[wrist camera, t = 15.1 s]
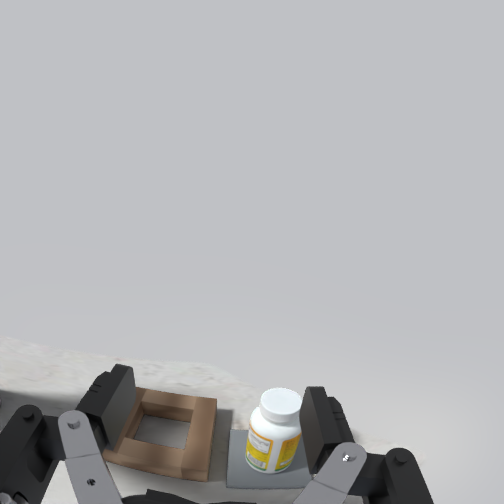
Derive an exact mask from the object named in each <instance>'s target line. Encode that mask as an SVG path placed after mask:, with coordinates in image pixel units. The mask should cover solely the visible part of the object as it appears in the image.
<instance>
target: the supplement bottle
mask: <svg viewBox="0 0 504 504" xmlns="http://www.w3.org/2000/svg"><path fill="white" fill-rule="evenodd" d="M302 401H303V400H302V398H301V397H300V395H299V394H298V393H296V392H294V391H293V390H290V389H286V388H273V389H270V390H267V391H266V392H264V393H263V394H262V396H261V400H260V404H259V406H258V407H257V408H256V409H255V410H254V411H253V413H252V415H251V418H250V425H249V432H248V439H247V446H246V453H245V457H246V461H247V462H248V464H249V465H250V466H251V467H252V468H253V469H255V470H256V471H259V472H262V473H267V474H273V473H278V472H281V471H283V470H285V469H286V468H287V467H289V465H290V464H291V462H292V460H293V457H294V454H295V451H296V448H297V445H298V442H299V439H300V436H301V433H302V432H301V427H300V422H299V412H300V408H301V404H302Z"/></svg>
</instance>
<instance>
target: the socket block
mask: <svg viewBox="0 0 504 504" xmlns="http://www.w3.org/2000/svg"><path fill="white" fill-rule="evenodd" d="M216 413H217V399H214V398H204V397H196V396H188V395H181V394H174V393H167V392H161V391H156V390H150V389H145V388H140V387H136V400H135V403H134V405H133V407H132V410H131V412H130V414H129V416H128V418H127V420H126V423H125V425H124V427H123V429H122V432H121V434H120V436H119V438H118V441H117V443H116V445H115V447H114V450H113V451H111V450H108V449H104V452H103V454H102V455H103V457H104V460H105V461H109V462H112V463H115V464H119V465H122V466H126V467H129V468H133V469H137V470H141V471H145V472H150V473H154V474H159V475H164V476H169V477H175V478H181V479H187V480H194V481H202V482H207V480H208V472H209V465H210V457H211V449H212V442H213V435H214V427H215V420H216ZM144 414H146V415H151V416H156V417H161V418H167V419H173V420H179V421H186V422H191V423H190V428H189V432H188V436H187V441H186V445H185V449H179V448H173V447H167V446H162V445H157V444H152V443H147V442H142V441H138V440H134V439H133V438H134V436H135V434H136V431H137V429H138V427H139V424H140V422H141V420H142V417H143V415H144Z"/></svg>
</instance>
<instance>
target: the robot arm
mask: <svg viewBox="0 0 504 504" xmlns="http://www.w3.org/2000/svg"><path fill="white" fill-rule="evenodd" d="M135 400H136V387H135V380H134V373H133V368H132V367H130V366H125V365H121V364H116V365H115V366H114V367H113V369H112V371H111V372H106V371H105V372H104V373H102V374H101V375H99V376H98V377H97V378H96V379H95V381H94V382H93V385H91V387H90V388H89V391H87V393H86V394H85V395H84V397H83V398H82V400H81V401H80V403H79V404H78V406H77V407H76V409H75V410H70V411H66V412H64V413H63V414H61V415H60V417H53V416H45V415H42V412H41V410H40V409H39V408H38V407H36V406H34V405H24V406H21V407H20V408H19V409H18V410H17V411H16V412H15V414H14V415H13V416H12V418H11V419H10V421H9V422H8V423H7V425H6V426H5V428H4V429H3V431H2V432H1V434H0V504H41V501H42V499H43V497H44V494H45V492H46V490H47V487H48V485H49V483H50V480H51V478H52V476H53V474H54V471H55V469H56V467H57V465H58V463H59V461H60V460H62V461H65V464H66V467H67V471H68V474H69V477H70V480H71V483H72V486H73V489H74V492H75V495H76V498H77V500H78V503H79V504H198V503H195V502H192V501H190V500H187V499H184V498H182V497H179V496H176V495H174V494H169V493H164V492H159V491H155V490H150V489H147V492H146V495H133V496H128V497H124V498H122V496H121V495H120V493H119V491H118V489H117V487H116V485H115V483H114V480H113V478H112V476H111V474H110V472H109V469H108V467H107V465H106V462H105V460H104V457H103V455H102V454H103V452H104V449H108V450H111V451H113V450H114V447H115V445H116V443H117V441H118V438H119V436H120V434H121V432H122V429H123V427H124V425H125V423H126V420H127V418H128V416H129V414H130V412H131V410H132V407H133V405H134V403H135ZM0 404H1V398H0ZM299 422H300V427H301V432H302V437H303V442H304V448H305V453H306V458H307V463H308V469H309V474H317V475H316V476H315V478H314V479H312V480H311V481H310V482H309V484H308V485H307V486H306V487H305V489H304V490H303V491H302V492H301V494H300V495H299V496H298V497H297V498H296V500H295V501H294V502H293V503H292V504H342V503H343V502H344V500H345V499H346V497H347V495H355V496H362V498H363V503H364V504H434V503H433V500H432V498H431V495H430V493H429V490H428V488H427V485H426V483H425V481H424V478H423V476H422V474H421V471H420V469H419V466H418V464H417V462H416V459H415V457H414V455H413V454H412V453H411V452H410V451H409V450H407V449H404V448H394V449H391V450H390V451H389V452H388V453H387V454H386V455H380V454H371V453H367V452H366V451H365V449H364V448H363V447H362V446H360V445H358V444H356V443H355V441H354V439H353V436H352V433H351V431H350V428H349V425H348V422H347V420H346V417H345V415H344V413H343V409H342V407H341V404H340V403H339V402H338V401H337V400H336V399H335V398H334V397H327V395H326V392H325V389H324V387H307V388H306V390H305V394H304V397H303V401H302V404H301V408H300V412H299ZM210 504H256V503H246V502H220V503H210Z"/></svg>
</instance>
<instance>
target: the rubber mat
mask: <svg viewBox="0 0 504 504" xmlns="http://www.w3.org/2000/svg"><path fill="white" fill-rule="evenodd" d="M248 432H249V430H235V429H230V441H229V455H228V469H227V483H226V487H227V488H244V489H292V488H305V487H306V486H307V485H308V484H309V482H310V481H311V480H312V476H311V474H309V469H308V463H307V458H306V453H305V448H304V442H303V437H302V433H301V436H300V439H299V442H298V445H297V448H296V451H295V454H294V457H293V460H292V462H291V464H290V465H289V467H287V468H286V469H285V470H283V471H281V472H278V473H273V474H267V473H262V472H259V471H256V470H255V469H253V468H252V467H251V466H250V465H249V464H248V462H247V461H246V457H245V453H246V446H247V439H248Z"/></svg>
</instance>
